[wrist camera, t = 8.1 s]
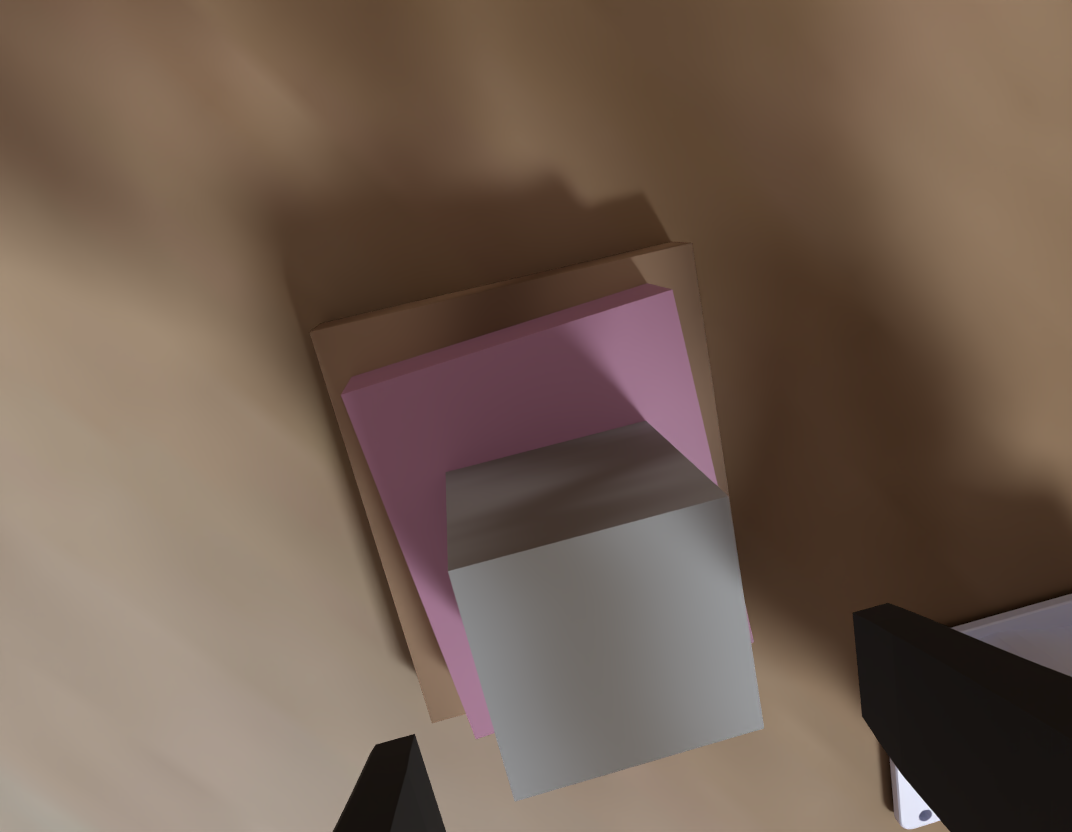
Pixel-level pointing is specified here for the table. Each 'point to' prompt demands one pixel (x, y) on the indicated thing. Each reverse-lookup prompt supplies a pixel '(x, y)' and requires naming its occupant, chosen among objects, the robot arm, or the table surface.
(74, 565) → the table surface
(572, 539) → the slate cube
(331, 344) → the walnut base block
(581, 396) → the plum top block
